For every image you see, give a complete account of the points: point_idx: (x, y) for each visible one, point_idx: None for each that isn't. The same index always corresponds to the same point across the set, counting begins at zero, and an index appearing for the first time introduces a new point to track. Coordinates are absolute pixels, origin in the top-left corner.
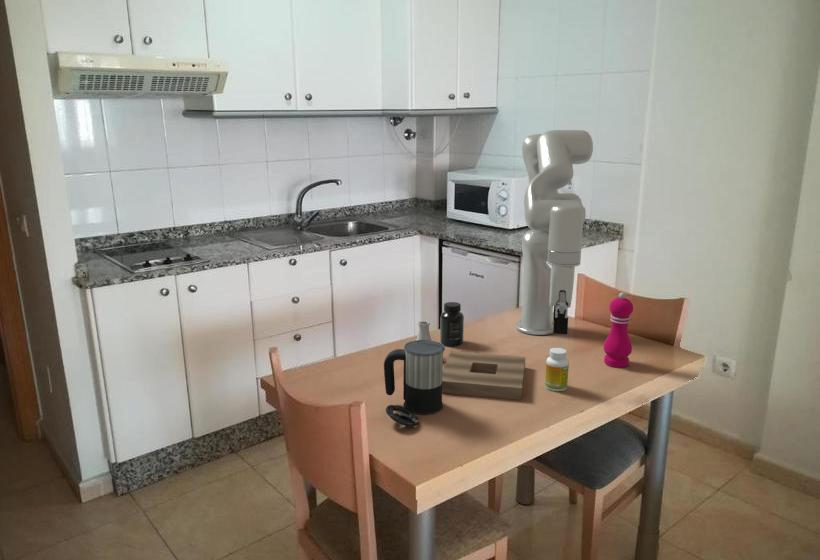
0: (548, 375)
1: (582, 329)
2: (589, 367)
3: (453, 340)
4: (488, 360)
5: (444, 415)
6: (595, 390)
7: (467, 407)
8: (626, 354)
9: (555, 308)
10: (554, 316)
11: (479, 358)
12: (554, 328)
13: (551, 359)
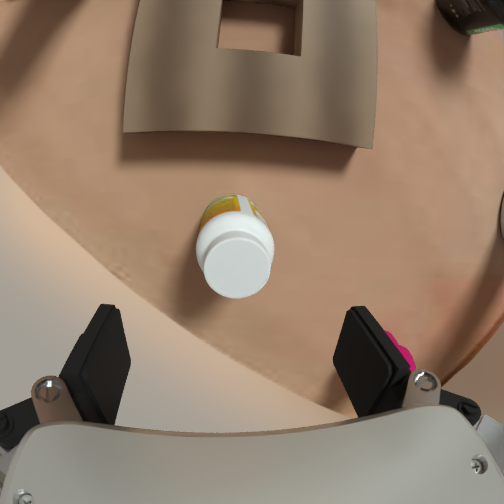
0: (210, 211)
1: (501, 288)
2: (359, 304)
3: (447, 3)
4: (327, 34)
5: (55, 4)
6: (230, 311)
7: (85, 26)
8: None
9: (381, 364)
10: (358, 326)
11: (337, 14)
12: (93, 324)
13: (218, 234)
